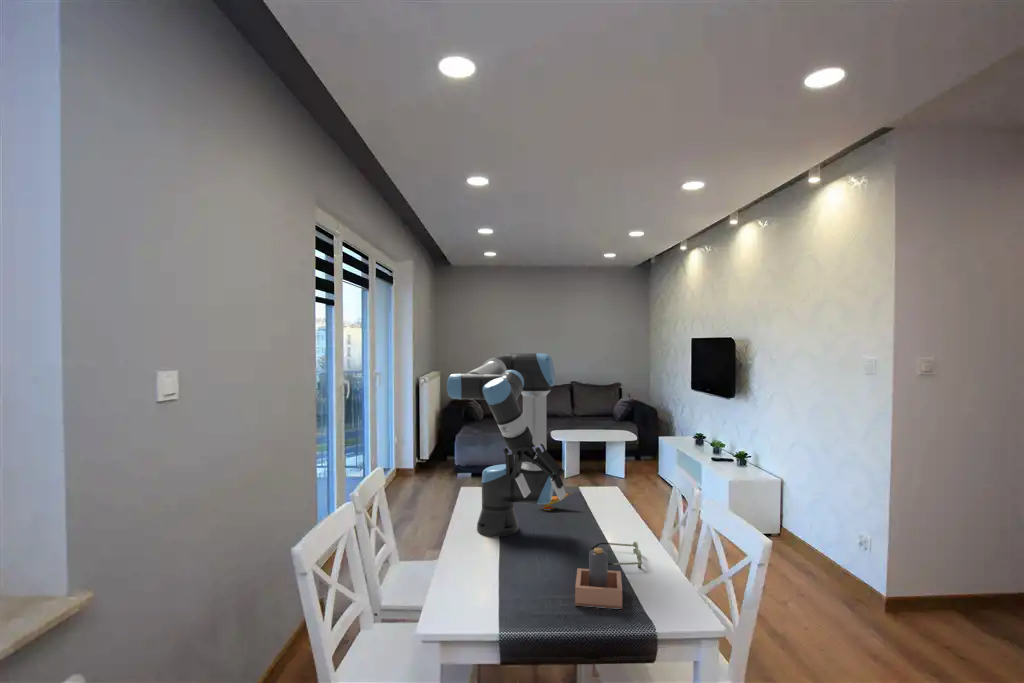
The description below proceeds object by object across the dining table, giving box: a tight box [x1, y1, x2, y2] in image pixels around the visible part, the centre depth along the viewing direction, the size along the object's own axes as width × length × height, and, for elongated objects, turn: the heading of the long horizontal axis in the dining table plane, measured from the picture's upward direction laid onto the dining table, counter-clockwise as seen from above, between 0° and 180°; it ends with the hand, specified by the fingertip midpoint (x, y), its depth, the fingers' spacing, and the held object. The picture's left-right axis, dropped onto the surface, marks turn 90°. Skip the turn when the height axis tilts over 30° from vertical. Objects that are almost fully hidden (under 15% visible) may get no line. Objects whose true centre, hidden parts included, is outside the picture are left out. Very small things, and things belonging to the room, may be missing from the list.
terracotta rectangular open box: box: [574, 567, 623, 610], centre depth 145 cm, size 12×12×5 cm
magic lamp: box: [542, 492, 574, 510], centre depth 223 cm, size 7×18×11 cm, turn 85°
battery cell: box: [588, 547, 609, 588], centre depth 146 cm, size 5×5×12 cm
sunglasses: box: [590, 541, 643, 568], centre depth 170 cm, size 17×15×5 cm
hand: (544, 496), depth 154 cm, fingers open, 13 cm apart
